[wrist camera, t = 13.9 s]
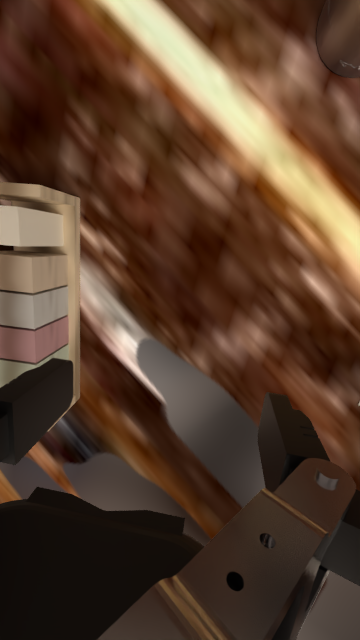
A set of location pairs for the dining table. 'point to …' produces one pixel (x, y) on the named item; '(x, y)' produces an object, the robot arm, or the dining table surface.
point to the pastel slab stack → (41, 290)
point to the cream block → (30, 227)
